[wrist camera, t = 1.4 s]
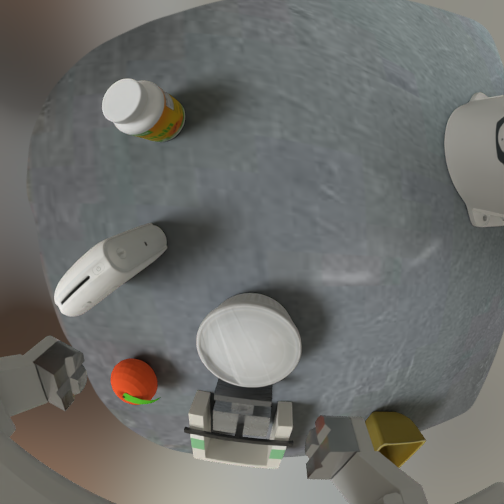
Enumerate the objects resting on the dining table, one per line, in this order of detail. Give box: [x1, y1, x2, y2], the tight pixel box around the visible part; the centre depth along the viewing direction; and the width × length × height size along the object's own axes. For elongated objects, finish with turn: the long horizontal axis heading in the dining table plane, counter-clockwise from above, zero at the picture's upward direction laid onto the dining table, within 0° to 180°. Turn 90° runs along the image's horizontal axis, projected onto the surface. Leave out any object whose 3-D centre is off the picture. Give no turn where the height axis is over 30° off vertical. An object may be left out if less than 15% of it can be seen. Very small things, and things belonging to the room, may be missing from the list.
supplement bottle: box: [102, 79, 185, 142], centre depth 22 cm, size 5×5×10 cm
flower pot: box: [365, 412, 426, 468], centre depth 31 cm, size 9×9×9 cm
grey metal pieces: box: [184, 378, 293, 446], centre depth 32 cm, size 15×10×6 cm
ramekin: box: [196, 293, 302, 387], centre depth 30 cm, size 11×11×5 cm
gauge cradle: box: [189, 390, 293, 469], centre depth 35 cm, size 14×13×5 cm
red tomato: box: [111, 359, 161, 405], centre depth 33 cm, size 8×7×7 cm
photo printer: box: [54, 223, 167, 316], centre depth 25 cm, size 10×4×12 cm, turn 123°
